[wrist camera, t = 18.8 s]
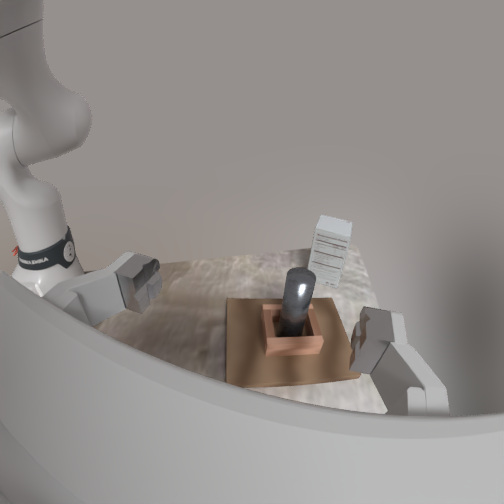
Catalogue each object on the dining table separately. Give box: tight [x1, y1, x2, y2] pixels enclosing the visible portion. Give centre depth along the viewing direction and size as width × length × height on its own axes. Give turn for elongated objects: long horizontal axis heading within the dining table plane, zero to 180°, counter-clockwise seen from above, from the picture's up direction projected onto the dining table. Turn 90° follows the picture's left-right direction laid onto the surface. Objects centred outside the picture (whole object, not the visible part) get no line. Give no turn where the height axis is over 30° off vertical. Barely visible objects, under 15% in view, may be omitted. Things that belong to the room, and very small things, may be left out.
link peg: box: [277, 267, 316, 337], centre depth 40 cm, size 4×4×12 cm
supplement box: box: [308, 215, 353, 288], centre depth 56 cm, size 7×7×13 cm
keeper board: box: [226, 298, 361, 388], centre depth 42 cm, size 20×18×4 cm
